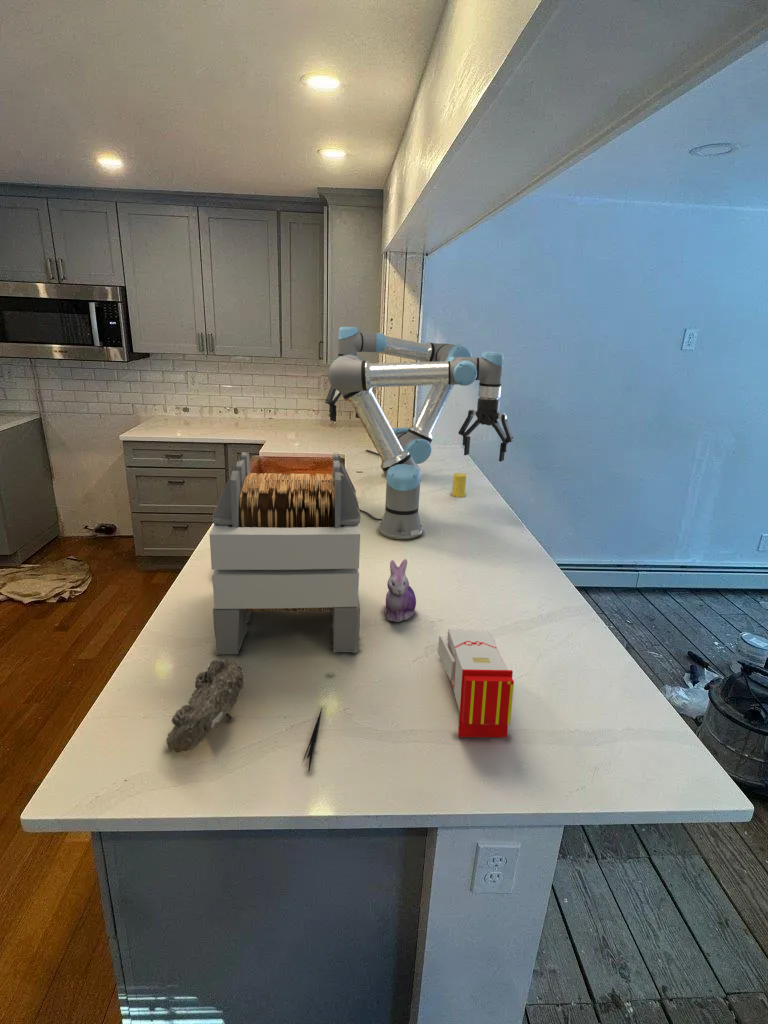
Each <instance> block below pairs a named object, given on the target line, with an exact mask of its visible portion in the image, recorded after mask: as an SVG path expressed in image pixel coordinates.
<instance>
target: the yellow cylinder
mask: <svg viewBox="0 0 768 1024" xmlns="http://www.w3.org/2000/svg"><path fill="white" fill-rule="evenodd" d="M467 477H468V476H467V474H466V473H463V472H455V473H453V478H452V479H453V480H452V491H451V496H453V497H455V498H463V497H465V496H466V486H467Z"/></svg>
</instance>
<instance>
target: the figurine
mask: <svg viewBox="0 0 768 1024" xmlns="http://www.w3.org/2000/svg"><path fill="white" fill-rule="evenodd" d="M407 567H408V559H406V558H404V559H403V560H402V561H401V563H400V565H399V566H398V565H397V563H396V562H395V561H394V560H393V559H391V560H390V561H389V570H390V576H389V578H388V579H387V589H388V591H387V592H386V594H385V595H386V596H385V607H384V615H385V616H386V620H387V621H391V622H395V623H400V622H402V621H406V620H409V619H410V618H411V617H413V616H414V615H415V610H416V606H417V597H416V593H415V591H414V590H413V587H411V586H410V582H409V579H408V577H407V574H406V571H407Z"/></svg>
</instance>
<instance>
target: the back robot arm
mask: <svg viewBox="0 0 768 1024" xmlns="http://www.w3.org/2000/svg"><path fill="white" fill-rule="evenodd" d="M337 343H338V344H337V359H338V358H339V357H341V356H343V355H347V354H352V355H356V356H358V353H376V354H381V355H387V356H393V357H397V358H402V359H407V360H413V361H417V362H432V361H446V359H447V358H448V357H470V358H474V357H473V354H472V351H471V350H470V349H469V348H468V347H466V346H463V345H460V344H453V343H436V342H430V341H427V342H426V343H422V342H418V341H413V340H407V339H403V338H397V337H393V336H386V335H385V334H384V333H383V332H369V331H363V330H358V327H356V326H340V327H339V328H338V335H337ZM454 387H455V385H431V387H430V390H429V392H428V394H427V396H426V398H425V400H424V403H423V404H422V407H421V409H420V411H419V414H418V415H417V418H416V420H415V422H414V424H413V426H410V427H391V428H392V429H393V431H394V433H395V435H396V437H397V439H398V441H399V443H400V445H401V447H402V449H403V450H405V451H408V452H409V453H410V455H411V457H412V459H413V461H415V462H416V464H417V465H420V464H422V463H425V462H427V460H428V459H429V458H430V456H431V453H432V446H431V443H432V442H433V439H434V437H433V434H432V433H433V431H434V429H435V427H436V425H437V423H438V421H439V419H440V416H441V414H442V412H443V409H444V408H445V405H446V403H447V401H448V399H449V398H450V395H451V393H452V391H453V388H454ZM341 396H342V394H341V392H339V391H337V390H336V389H335V388H333V387H332V385H331V384H330V388H329V391H328V393H327V396H326V398H325V401H324V402H325V404H327V405H328V406H329V410H328V411H329V413H330V421H332V422H334V423H335V422H337V405H336V404H337V402H338V401H339V398H340V397H341ZM355 418H356V419H360V418H359V416H358V415H357V413H356V412H355ZM365 452H367V453H370V454H374V455H376V456H379V457H380V455H379V454H378V452H375V451H372V450H368V449H366V450H365ZM383 476H384V477H385V478H386V475H385V474H384V473H383Z"/></svg>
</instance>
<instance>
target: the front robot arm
mask: <svg viewBox="0 0 768 1024" xmlns="http://www.w3.org/2000/svg"><path fill="white" fill-rule="evenodd" d="M503 371H504V354H503V353H502V352H500V351H482V353H481V356H480V357H473V358H470V357H448V358H447V359H446V361H432V362H422V361H407V362H406V361H405V362H379V363H378V362H375V363H371V362H370V361H368V360H363V359H362V358H361V357H360V356H359V355H357V356H356V355H352V354H347V355H343V356H341V357H339V358H338V357H337V358H336V359H335V360H333V361H332V362H331V364H330V365H329V368H328V371H327V379H328V381H329V384H330V386H331V385H332V387H333V388H335V389H336V390H337V391H339V392H341V396H342V398H343V399H344V401H347V402H350V404H351V406H352V407H353V409H354V412H355V414H356V413H357V415H358V416H359V418H358V419H359V420H360V423H361V424H362V425H363V428H364V429H365V432H366V433H367V435H368V437H369V439H370V441H371V443H372V444H373V446H374V448H375V450H376V453H378V454H379V455H380V456H379V455H378V456H379V458H380V459H381V465H380V468H381V470H382V471H383V475H384V474H385V475H386V477H385V481H386V482H385V483H386V485H385V504H384V505H385V507H384V508H385V509H384V513H383V515H382V518H380V517H379V518H378V517H375V516H373V515H372V514H371V513H369V512H367V511H365V510H363V509H360V508H359V511H360V513H364V514H365V515H367V516H369V517H370V518H371V519H373V520H375V521H379V526H378V533H379V534H380V535H381V536H382V537H385V538H387V539H389V540H395V541H410V540H415V539H418V538H420V537H421V536H422V535H423V525H422V524H421V518H420V515H419V507H420V506H419V505H420V491H421V482H422V473H421V468H420V466H419V464H416V462H415V461H413V459H412V457H411V455H410V453H409V452H408V451H405V450H403V449H402V447H401V445H400V443H399V441H398V439H397V437H396V435H395V433H394V431H393V429H392V428H393V427H392V426H391V424H390V421H389V419H388V418H387V416H386V414H385V412H384V411H383V408H382V406H381V404H380V403H379V401H378V399H377V397H376V395H375V393H374V391H373V389H374V388H390V387H391V388H392V387H420V386H432V385H454V386H455V385H456V386H457V385H458V386H463V387H466V386H471V384H473V383H474V382H475V381H479V383H478V392H477V393H478V394H477V396H478V398H477V404H476V405H477V406H476V407H477V409H476V410H474V409H469V410H468V412H467V416H466V418H465V420H464V422H463V424H462V425H461V427H460V429H459V431H458V435H460V436H462V446H463V447H464V448H463V449H464V451H463V456H469V455H470V447H471V446H470V445H471V436H470V435H471V433H472V432H473V431H474V430H475V429H476V428H477V427H478V426H479V425H483V426H485V425H486V426H492V428H493V429H494V430H495V432H496V434H497V435H498V436H499V438H500V440H501V442H500V447H499V456H498V462H503V461H504V460H505V453H506V452H508V449H509V443H512V442H514V440H515V438H514V435H513V432H512V430H511V426H510V424H509V421H508V414H507V413H502V414H501V413H500V412H499V411H500V403H501V400H500V399H499V398H501V391H502V382H503V381H502V380H503ZM475 416H476V418H477V419H476V420H475V421H474V423H472V424H471V425H470V423H471V422H472V420H473V418H474V417H475ZM498 419H499V420H500V421H501V424H502V427H501V425H500V423H499V421H498ZM469 425H470V426H469ZM502 428H503V429H502Z"/></svg>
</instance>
